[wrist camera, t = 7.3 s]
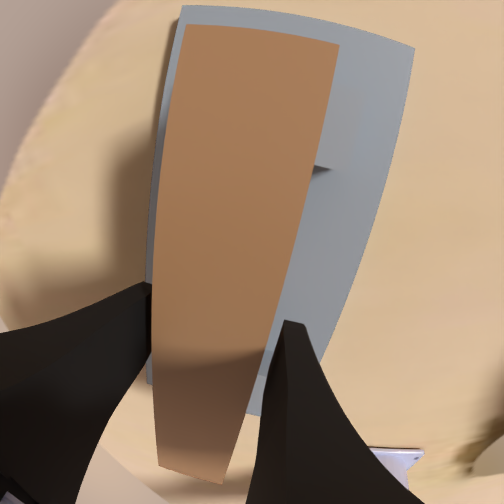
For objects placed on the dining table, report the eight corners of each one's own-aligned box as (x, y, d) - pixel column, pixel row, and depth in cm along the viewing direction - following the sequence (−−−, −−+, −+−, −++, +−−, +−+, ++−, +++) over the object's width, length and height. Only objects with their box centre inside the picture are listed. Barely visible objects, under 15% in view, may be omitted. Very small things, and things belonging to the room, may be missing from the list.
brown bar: (242, 408, 16) (221, 484, 11) (184, 392, 16) (152, 463, 12) (324, 80, 9) (339, 45, 5) (229, 63, 9) (172, 24, 5)
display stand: (292, 411, 20) (288, 446, 17) (152, 373, 20) (135, 403, 18) (407, 52, 10) (431, 37, 8) (190, 11, 11) (164, -10, 8)
